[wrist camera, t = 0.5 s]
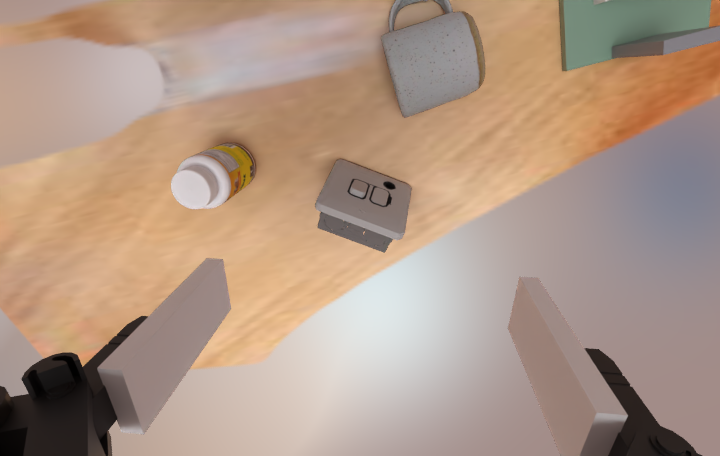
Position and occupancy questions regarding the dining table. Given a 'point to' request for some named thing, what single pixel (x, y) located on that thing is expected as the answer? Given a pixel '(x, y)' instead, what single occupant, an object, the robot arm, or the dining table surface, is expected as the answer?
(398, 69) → the ceramic mug
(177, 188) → the supplement bottle
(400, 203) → the electrical switch
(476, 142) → the dining table surface
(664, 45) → the base
